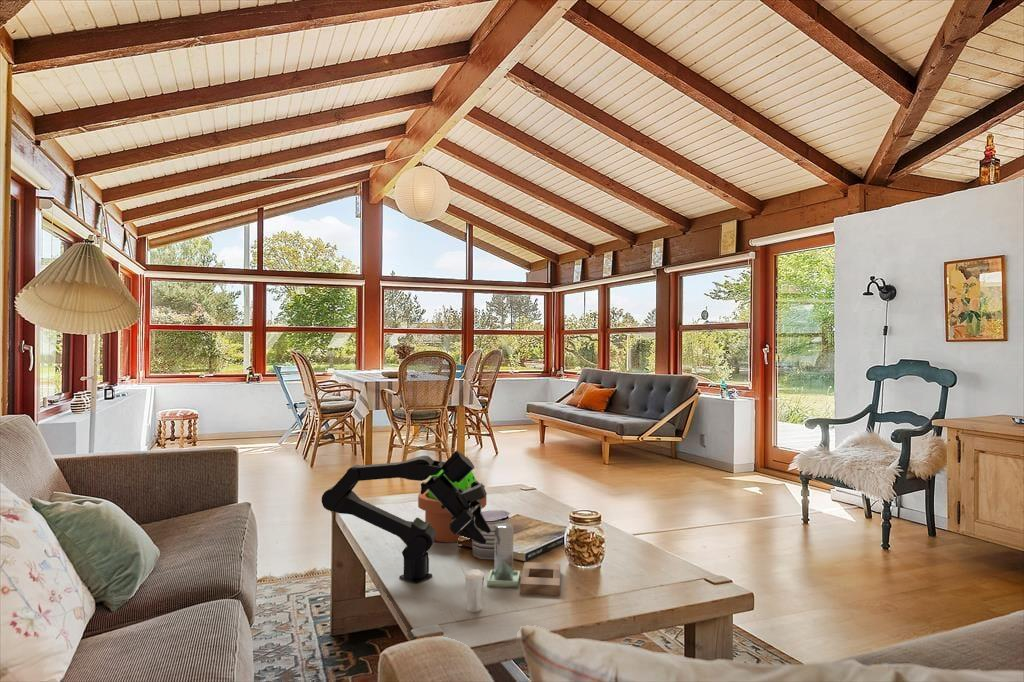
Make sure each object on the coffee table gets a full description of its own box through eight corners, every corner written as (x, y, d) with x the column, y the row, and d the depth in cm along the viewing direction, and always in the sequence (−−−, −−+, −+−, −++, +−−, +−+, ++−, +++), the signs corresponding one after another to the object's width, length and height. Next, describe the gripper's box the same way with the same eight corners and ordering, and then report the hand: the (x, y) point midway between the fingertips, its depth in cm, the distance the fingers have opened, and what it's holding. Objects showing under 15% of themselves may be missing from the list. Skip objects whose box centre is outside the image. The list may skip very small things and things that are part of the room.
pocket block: (519, 593, 160) (520, 583, 160) (524, 571, 176) (524, 562, 176) (559, 595, 159) (559, 585, 159) (560, 572, 175) (560, 563, 175)
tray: (487, 586, 164) (487, 580, 164) (490, 575, 172) (490, 569, 172) (517, 587, 164) (517, 581, 164) (520, 576, 172) (520, 570, 172)
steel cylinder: (505, 583, 165) (506, 529, 165) (490, 579, 167) (490, 526, 168) (516, 578, 169) (517, 525, 169) (501, 574, 172) (501, 522, 172)
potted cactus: (405, 540, 202) (406, 462, 203) (438, 522, 223) (439, 451, 223) (467, 549, 194) (468, 467, 194) (496, 530, 214) (496, 456, 215)
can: (504, 561, 184) (505, 519, 184) (467, 558, 186) (467, 517, 186) (512, 548, 195) (513, 509, 195) (476, 546, 197) (477, 507, 197)
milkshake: (461, 605, 152) (461, 564, 152) (483, 605, 152) (483, 563, 152) (461, 613, 147) (461, 570, 148) (484, 613, 148) (484, 570, 148)
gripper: (463, 481, 160) (505, 526, 159) (473, 467, 178) (512, 507, 177) (431, 511, 160) (474, 556, 159) (445, 493, 179) (483, 534, 178)
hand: (487, 537), depth 169 cm, fingers open, 9 cm apart
